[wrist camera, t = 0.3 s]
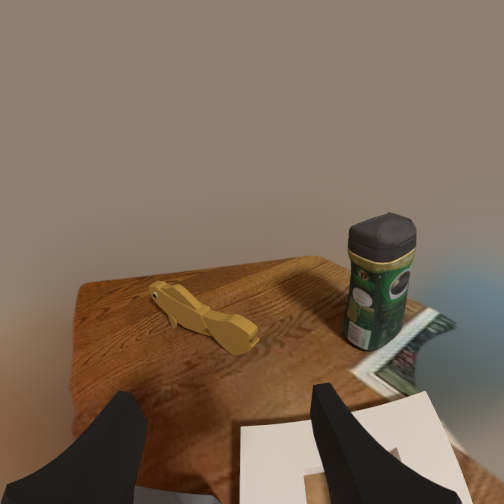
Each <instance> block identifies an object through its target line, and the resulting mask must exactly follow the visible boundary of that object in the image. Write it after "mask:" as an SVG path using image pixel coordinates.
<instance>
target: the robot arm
mask: <svg viewBox="0 0 504 504" xmlns="http://www.w3.org/2000/svg"><path fill="white" fill-rule="evenodd" d="M310 418H311V424H312V429H313V435H314V439H315V442H316V445H317V449H318V452H319V455H320V459H321V462H322V465H323V468H324V472H325V475H326V478H327V482H328V486H329V492H330V498H331V504H462V501H461V499H460V497H459V496H458V494H457V493H456V492H455V491H453V490H450V489H448V488H445V487H443V486H441V485H439V484H437V483H435V482H433V481H431V480H429V479H427V478H425V477H423V476H422V475H420V474H419V473H417V472H415V471H414V470H412V469H411V468H409V467H408V466H406V465H405V464H403V463H402V462H401V461H399V460H398V459H397V458H396V457H394V456H393V455H392V454H391V453H390V452H388V451H387V450H386V449H385V448H384V447H383V446H382V445H380V444H379V443H378V442H377V441H376V440H375V439H374V438H373V437H372V436H371V435H370V434H369V433H368V431H367V430H366V429H365V428H364V427H363V426H362V425H361V424H360V422H359V421H358V420H357V419H356V418H355V417H354V415H353V414H352V413H351V412H350V410H349V409H348V408H347V406H346V405H345V404H344V402H343V401H342V400H341V398H340V397H339V395H338V394H337V392H336V391H335V389H334V388H333V386H332V385H331V384H330V383H323V384H317V385H313V392H312V401H311V409H310ZM146 430H147V419H146V417H145V415H144V414H143V412H142V410H141V409H140V407H139V405H138V403H137V402H136V400H135V398H134V396H133V395H132V393H131V392H123V391H118V392H117V394H116V395H115V396H114V397H113V398H112V399H111V401H110V402H109V403H108V404H107V405H106V407H105V408H104V409H103V410H102V411H101V413H100V414H99V415H98V416H97V417H96V419H95V420H94V421H93V422H92V423H91V424H90V426H89V427H88V428H87V429H86V430H85V431H84V432H83V433H82V434H81V435H80V436H79V438H78V439H77V440H76V441H75V442H74V443H73V444H72V445H71V446H70V447H68V448H67V449H66V450H65V451H64V452H63V453H62V454H60V455H59V456H58V457H57V458H55V459H54V460H53V461H51V462H50V463H48V464H47V465H45V466H44V467H43V468H41V469H39V470H38V471H36V472H34V473H33V474H30V475H28V476H27V477H24V478H22V479H20V480H17V481H15V482H12V483H10V484H7V486H6V489H5V492H4V495H3V497H2V500H1V504H133V502H134V489H135V483H136V478H137V473H138V469H139V465H140V461H141V457H142V452H143V448H144V444H145V438H146Z"/></svg>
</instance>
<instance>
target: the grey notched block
mask: <svg viewBox="0 0 504 504" xmlns="http://www.w3.org/2000/svg"><path fill="white" fill-rule="evenodd" d="M133 504H222V503H221V502H220V501H219V500H217V499H216V498H215V497H214V496H213V495H198V494H187V493H178V492H170V491H163V490H157V489H151V488H146V487H141V486H136V485H135V490H134V502H133Z"/></svg>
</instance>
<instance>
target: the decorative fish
mask: <svg viewBox="0 0 504 504" xmlns="http://www.w3.org/2000/svg"><path fill="white" fill-rule="evenodd" d="M149 293H150V295H151V296H152V298H153V300H154V301H155V302H156V303H157V304H158V305H159V306H160V307H161V308H162V309H163V310H164V311H165V312H166V313H167V315H168V317H169V320H170V323H171V325H172V328H173V329H176V328H177V322H178V323H179V324H180V325H182V326H183V327H185V328H187V329H190V330H193V331H195V332H198V333H201V334H204V335H208V336H213V337H214V339H215V340H216V341H217V342H218V343H219V344H220V345H221V346H222V347H223V348H224V349H226V350H227V351H228V352H229V353H230V354H232V355H234V356H238V355H241V354H243V353H245V352H247V351H249V350H250V349H251V348H252V347H253V346H254V345H255V344H256V343H257V342H258V341H259V340H260V339H259V338H257V337H254V336H255V335H256V334H257V332H258V328H257V326H256V325H255V324H253V323H252V322H251V321H249V320H247V319H246V318H244V317H242V316H240V315H238V314H224V313H220V312H217V311H213V310H211V309H210V308H209V306H206V305H204V304H202V303H200V302H198V301H197V300H196V299H195V298H194V297H193V296H192V295H191V294H190V293H189V292H188V291H187V290H186V289H185V288H184V287H183V286H181V285H179V284H175V285H168V284H167V283H166V282H164V281H157V282H155V283H153V284H151V285H150V286H149Z"/></svg>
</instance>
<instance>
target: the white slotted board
mask: <svg viewBox="0 0 504 504" xmlns="http://www.w3.org/2000/svg"><path fill="white" fill-rule="evenodd" d="M351 413H352V414H353V415H354V417H355V418H356V419H357V420H358V421H359V422H360V424H361V425H362V426H363V427H364V428H365V429H366V430H367V431H368V433H369V434H370V435H371V436H372V437H373V438H374V439H375V440H376V441H377V442H378V443H379V444H380V445H382V446H383V447H384V448H385V449H386V450H387V451H388V452H390V453H391V454H392V455H393V456H394V457H396V458H397V459H398V460H399V461H401V462H402V463H403V464H405V465H406V466H408V467H409V468H411V469H412V470H414V471H415V472H417V473H419V474H420V475H422V476H423V477H425V478H427V479H429V480H431V481H433V482H435V483H437V484H439V485H441V486H443V487H445V488H448V489H450V490H453V491H455V492H456V493H457V494H458V496H459V497H460V499H461V501H462V504H473V503H472V500H471V497H470V494H469V491H468V488H467V485H466V483H465V480H464V477H463V474H462V472H461V469H460V467H459V464H458V462H457V459H456V457H455V454H454V452H453V449H452V447H451V445H450V442H449V440H448V438H447V435H446V433H445V431H444V429H443V426H442V424H441V422H440V420H439V418H438V416H437V414H436V411H435V409H434V407H433V405H432V403H431V401H430V399H429V397H428V395H427V393H426V391H424V392H421V393H418V394H415V395H412V396H409V397H406V398H403V399H400V400H396V401H393V402H390V403H386V404H383V405H379V406H375V407H371V408H367V409H363V410H359V411H355V412H351ZM322 472H324V468H323V465H322V462H321V459H320V455H319V452H318V449H317V445H316V442H315V439H314V435H313V429H312V424H311V420H306V421H299V422H291V423H282V424H272V425H260V426H243V427H241V451H240V504H307V503H306V494H305V486H304V477H303V475H310V474H316V473H322Z"/></svg>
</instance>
